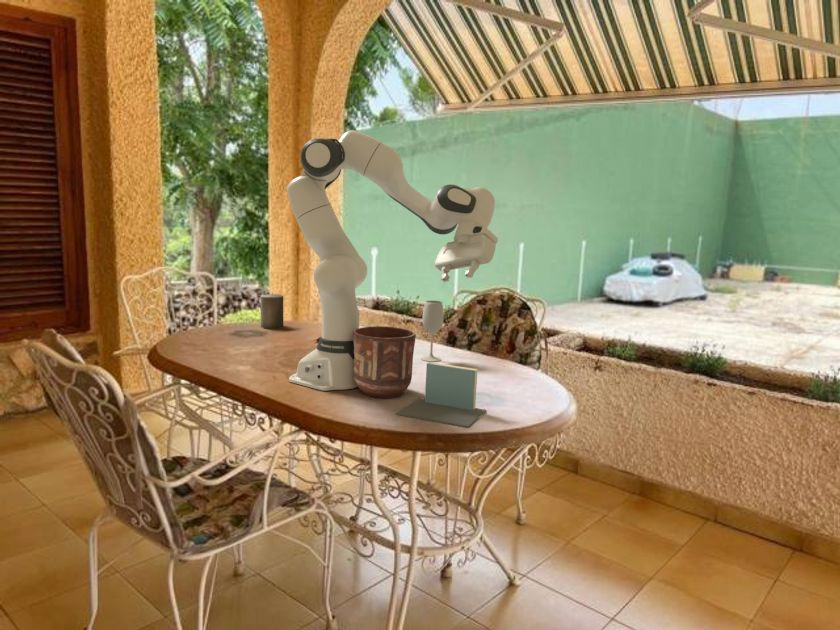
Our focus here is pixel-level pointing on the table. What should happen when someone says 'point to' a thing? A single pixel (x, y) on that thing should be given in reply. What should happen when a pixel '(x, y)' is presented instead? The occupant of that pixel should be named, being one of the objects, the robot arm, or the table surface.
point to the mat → (441, 413)
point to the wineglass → (432, 323)
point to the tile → (451, 385)
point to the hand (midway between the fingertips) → (456, 278)
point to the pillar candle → (272, 311)
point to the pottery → (383, 360)
